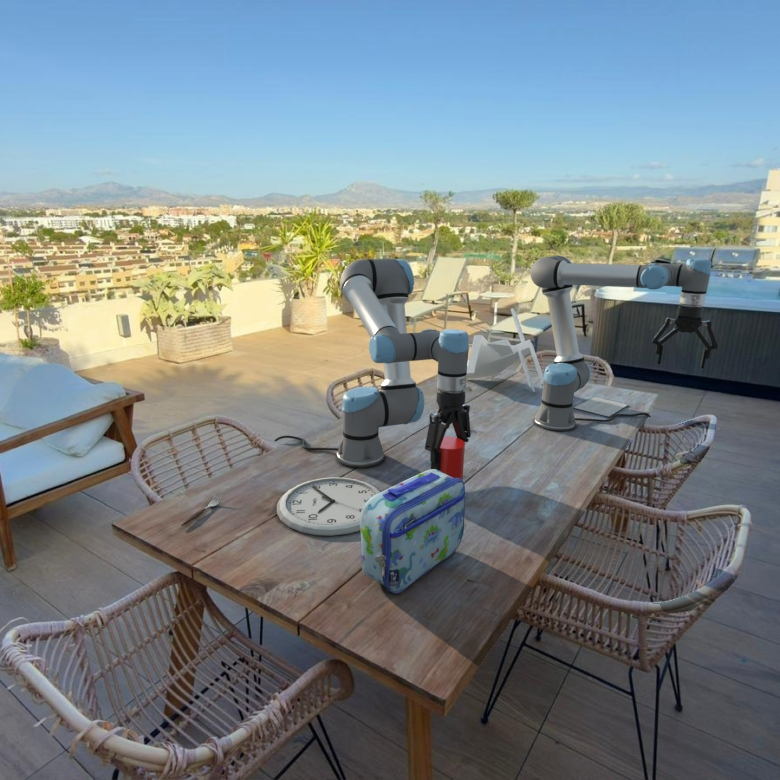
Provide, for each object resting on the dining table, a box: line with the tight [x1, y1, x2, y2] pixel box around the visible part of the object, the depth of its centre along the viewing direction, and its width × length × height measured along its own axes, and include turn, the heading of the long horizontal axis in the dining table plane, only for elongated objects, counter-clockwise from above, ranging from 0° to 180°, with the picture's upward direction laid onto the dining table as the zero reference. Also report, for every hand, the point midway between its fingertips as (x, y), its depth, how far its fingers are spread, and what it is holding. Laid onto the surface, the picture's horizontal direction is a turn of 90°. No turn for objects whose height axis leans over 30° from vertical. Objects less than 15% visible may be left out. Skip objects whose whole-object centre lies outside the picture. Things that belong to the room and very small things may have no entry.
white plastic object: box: [466, 307, 544, 393], centre depth 255 cm, size 37×45×31 cm
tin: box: [435, 435, 466, 480], centre depth 143 cm, size 9×9×12 cm
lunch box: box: [359, 468, 466, 594], centre depth 114 cm, size 26×11×21 cm, turn 134°
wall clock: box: [276, 476, 382, 537], centre depth 142 cm, size 30×2×30 cm
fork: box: [180, 491, 225, 527], centre depth 138 cm, size 3×16×2 cm, turn 160°
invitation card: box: [573, 396, 629, 418], centre depth 226 cm, size 21×1×15 cm
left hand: (447, 467), depth 144 cm, fingers closed on tin, 9 cm apart
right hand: (679, 365), depth 185 cm, fingers open, 13 cm apart
